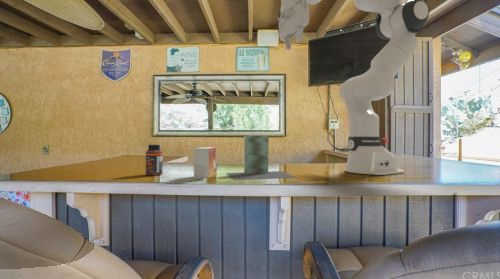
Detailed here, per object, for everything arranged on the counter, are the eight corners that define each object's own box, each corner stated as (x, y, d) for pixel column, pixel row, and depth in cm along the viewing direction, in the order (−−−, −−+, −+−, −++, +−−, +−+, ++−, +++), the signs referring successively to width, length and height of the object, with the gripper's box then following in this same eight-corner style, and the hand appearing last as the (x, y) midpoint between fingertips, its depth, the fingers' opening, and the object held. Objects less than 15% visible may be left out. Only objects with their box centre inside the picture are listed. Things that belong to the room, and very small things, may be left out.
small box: (208, 179, 95) (208, 148, 95) (193, 178, 96) (193, 148, 96) (216, 175, 103) (216, 147, 102) (201, 175, 104) (201, 146, 104)
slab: (267, 172, 107) (267, 135, 106) (268, 173, 105) (268, 135, 105) (244, 173, 105) (244, 135, 104) (244, 173, 103) (245, 135, 103)
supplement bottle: (142, 175, 103) (141, 144, 102) (152, 173, 108) (152, 144, 108) (156, 176, 101) (155, 145, 101) (165, 174, 107) (165, 144, 106)
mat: (281, 172, 111) (281, 171, 111) (297, 179, 95) (297, 177, 95) (225, 174, 105) (225, 173, 105) (233, 182, 90) (233, 180, 90)
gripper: (314, -5, 94) (313, 37, 95) (290, 19, 114) (290, 53, 115) (296, -7, 93) (296, 35, 93) (276, 17, 113) (276, 52, 113)
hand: (293, 45), depth 104 cm, fingers open, 8 cm apart
